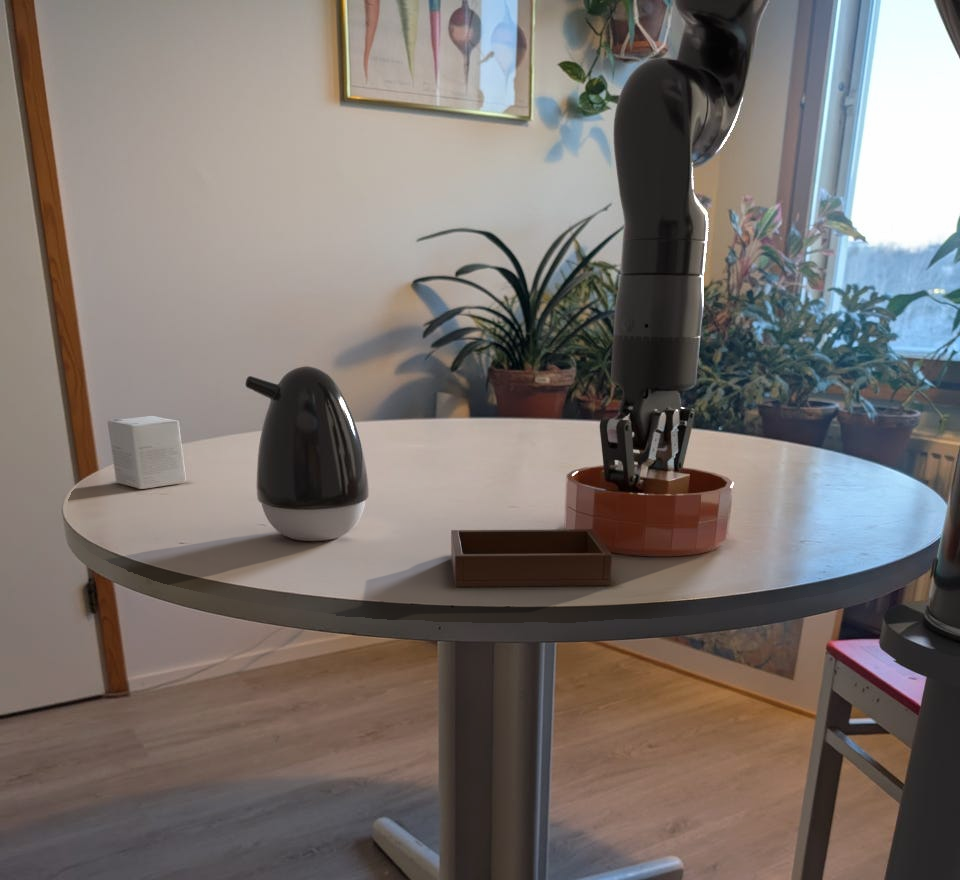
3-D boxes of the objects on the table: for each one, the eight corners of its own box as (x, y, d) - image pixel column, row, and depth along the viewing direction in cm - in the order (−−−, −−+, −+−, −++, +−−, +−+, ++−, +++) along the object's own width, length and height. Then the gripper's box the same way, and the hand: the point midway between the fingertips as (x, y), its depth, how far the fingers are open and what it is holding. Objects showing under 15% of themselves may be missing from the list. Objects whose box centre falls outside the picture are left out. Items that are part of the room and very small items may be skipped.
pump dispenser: (255, 524, 87) (242, 362, 81) (362, 519, 89) (356, 361, 84) (259, 552, 78) (245, 371, 72) (378, 545, 80) (372, 370, 75)
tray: (590, 557, 77) (592, 529, 77) (610, 585, 70) (612, 554, 69) (451, 558, 77) (451, 529, 76) (455, 587, 69) (455, 556, 68)
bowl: (752, 533, 86) (759, 477, 84) (681, 568, 75) (687, 503, 73) (614, 510, 95) (618, 458, 93) (533, 538, 83) (534, 479, 81)
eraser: (684, 529, 83) (690, 474, 82) (663, 538, 80) (668, 480, 78) (619, 517, 87) (623, 464, 86) (597, 525, 84) (600, 470, 82)
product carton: (187, 483, 106) (180, 419, 103) (138, 490, 101) (130, 424, 99) (162, 476, 109) (154, 415, 107) (114, 482, 105) (105, 419, 103)
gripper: (656, 335, 70) (639, 545, 76) (731, 331, 81) (710, 516, 87) (576, 331, 74) (566, 531, 81) (657, 328, 85) (642, 505, 91)
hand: (641, 522), depth 84 cm, fingers closed on eraser, 4 cm apart
